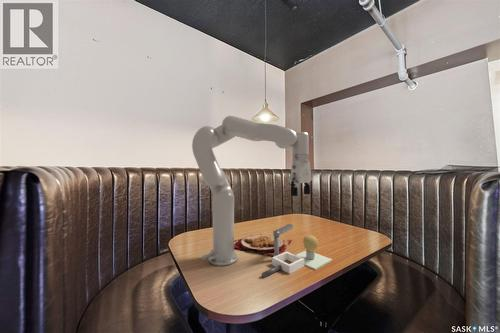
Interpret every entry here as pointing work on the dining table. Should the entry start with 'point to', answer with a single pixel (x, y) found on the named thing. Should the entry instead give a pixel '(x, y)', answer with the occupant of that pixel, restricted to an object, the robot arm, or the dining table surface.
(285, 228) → the silver metal bar
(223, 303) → the dining table surface
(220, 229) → the robot arm
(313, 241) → the light bulb
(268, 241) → the plate with food
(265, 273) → the white handled box
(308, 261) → the mat
